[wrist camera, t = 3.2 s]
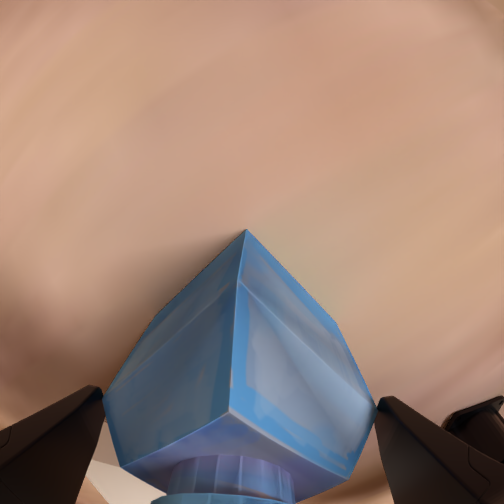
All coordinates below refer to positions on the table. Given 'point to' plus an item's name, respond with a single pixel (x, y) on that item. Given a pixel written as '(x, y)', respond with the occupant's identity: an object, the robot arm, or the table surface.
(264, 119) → the table surface
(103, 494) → the cream block
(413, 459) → the robot arm
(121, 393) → the perfume bottle
